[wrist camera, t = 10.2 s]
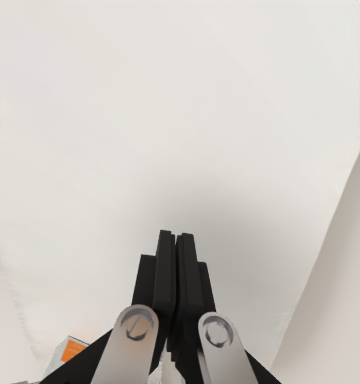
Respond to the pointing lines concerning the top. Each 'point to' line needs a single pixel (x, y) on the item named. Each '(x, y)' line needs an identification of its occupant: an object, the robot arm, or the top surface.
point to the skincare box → (64, 353)
